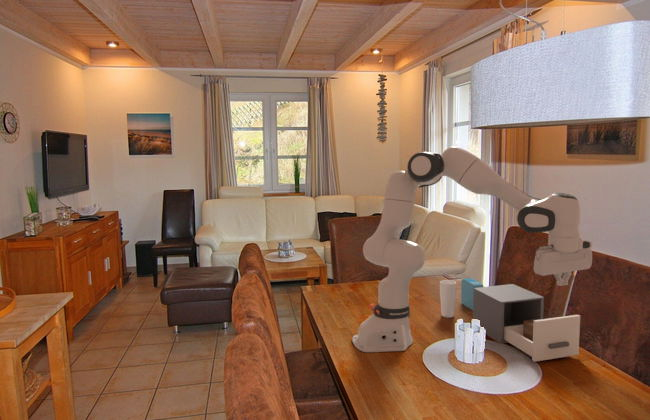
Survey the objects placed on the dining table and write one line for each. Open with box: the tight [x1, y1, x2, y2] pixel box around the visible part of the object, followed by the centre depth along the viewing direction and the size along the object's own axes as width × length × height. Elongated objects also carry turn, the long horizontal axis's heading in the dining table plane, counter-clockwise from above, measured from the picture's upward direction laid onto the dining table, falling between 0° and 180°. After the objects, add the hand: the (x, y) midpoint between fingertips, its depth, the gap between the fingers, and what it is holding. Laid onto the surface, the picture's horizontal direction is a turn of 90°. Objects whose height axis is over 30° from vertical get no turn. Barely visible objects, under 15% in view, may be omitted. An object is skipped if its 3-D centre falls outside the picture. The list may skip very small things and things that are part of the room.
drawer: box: [504, 314, 581, 362], centre depth 158 cm, size 17×19×14 cm
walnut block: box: [523, 320, 534, 342], centre depth 159 cm, size 4×10×7 cm, turn 14°
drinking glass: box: [439, 279, 457, 319], centre depth 194 cm, size 7×7×15 cm
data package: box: [460, 277, 485, 312], centre depth 204 cm, size 12×4×12 cm, turn 10°
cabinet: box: [472, 283, 545, 344], centre depth 176 cm, size 18×18×16 cm
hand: (562, 284), depth 148 cm, fingers closed
